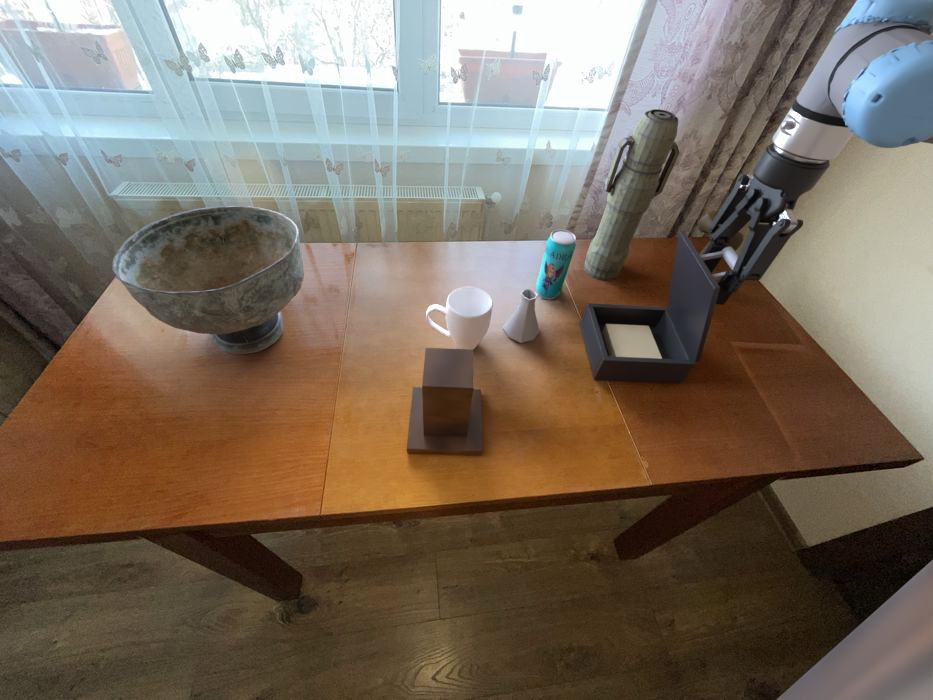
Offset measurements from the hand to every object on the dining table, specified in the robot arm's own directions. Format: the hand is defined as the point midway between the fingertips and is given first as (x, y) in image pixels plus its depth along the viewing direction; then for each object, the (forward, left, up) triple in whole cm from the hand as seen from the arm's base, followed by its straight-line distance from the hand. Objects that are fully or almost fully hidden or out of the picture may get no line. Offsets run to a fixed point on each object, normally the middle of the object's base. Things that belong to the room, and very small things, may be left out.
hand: (707, 289), depth 69 cm
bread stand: (-6, +47, -17) cm, 50 cm away
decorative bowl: (+23, +80, -17) cm, 85 cm away
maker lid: (+1, +2, -2) cm, 3 cm away
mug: (+11, +41, -17) cm, 46 cm away
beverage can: (+22, +17, -17) cm, 33 cm away
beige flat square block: (+2, +7, -16) cm, 18 cm away
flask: (+12, +27, -17) cm, 34 cm away
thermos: (+28, 0, -17) cm, 33 cm away
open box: (+2, +7, -17) cm, 19 cm away
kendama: (+20, -20, -17) cm, 33 cm away
